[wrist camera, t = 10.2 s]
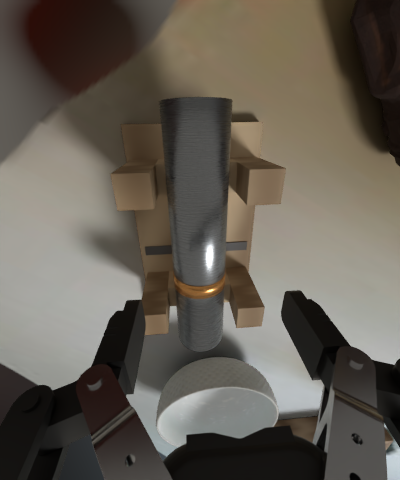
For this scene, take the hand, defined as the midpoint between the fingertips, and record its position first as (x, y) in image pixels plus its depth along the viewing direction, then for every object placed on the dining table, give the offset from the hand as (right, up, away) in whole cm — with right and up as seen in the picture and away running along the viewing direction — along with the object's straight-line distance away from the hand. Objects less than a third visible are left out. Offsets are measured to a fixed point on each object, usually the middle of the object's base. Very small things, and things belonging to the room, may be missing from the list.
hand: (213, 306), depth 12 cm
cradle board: (-1, +5, +12) cm, 13 cm away
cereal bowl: (+1, -18, +24) cm, 30 cm away
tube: (-1, +4, +8) cm, 9 cm away
